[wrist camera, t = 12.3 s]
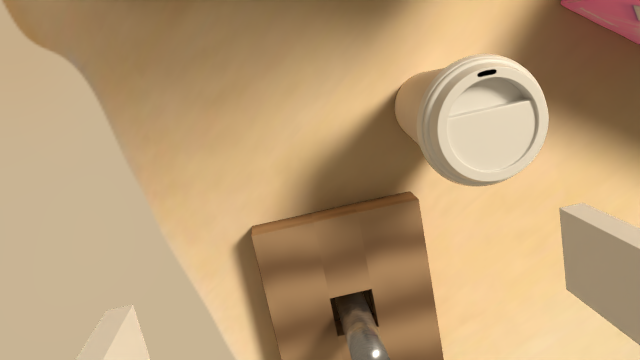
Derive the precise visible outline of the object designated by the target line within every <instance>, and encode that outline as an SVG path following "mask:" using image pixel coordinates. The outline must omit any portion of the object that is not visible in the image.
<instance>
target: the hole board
mask: <svg viewBox="0 0 640 360" xmlns="http://www.w3.org/2000/svg"><path fill="white" fill-rule="evenodd" d="M251 237H252V241H253V245H254V249H255V253H256V257H257V261H258V265H259V270H260V274H261V278H262V282H263V286H264V290H265V294H266V298H267V302H268V306H269V311H270V315H271V319H272V323H273V327H274V331H275V335H276V339H277V343H278V347H279V352H280V356H281V360H352V359H351V355H350V352H349V348H348V345H347V341H346V338H345V334H344V331H343V327H342V323H341V320H339V321H334V316H333V312H332V307H331V302H330V298H334V297H339V296H343V295H347V294H352V293H356V292H360V291H365V290H369V294H370V300H371V305H372V310H373V313H371V314H372V317H373V319H374V322H375V324H376V326H377V329H378V331H379V334H380V336H381V339H382V341H383V343H384V346H385V348H386V351H387V353H388V356H389V358H390V360H444V359H443V352H442V346H441V340H440V333H439V327H438V320H437V314H436V308H435V301H434V295H433V289H432V282H431V276H430V269H429V263H428V257H427V250H426V244H425V238H424V231H423V225H422V218H421V212H420V206H419V199H418V198H417V197H415V196H414V195H413V194H412V193H411V192H405V193H401V194H396V195H391V196H387V197H382V198H378V199H373V200H369V201H364V202H360V203H355V204H351V205H346V206H342V207H337V208H332V209H328V210H323V211H319V212H314V213H310V214H305V215H301V216H296V217H292V218H287V219H283V220H278V221H274V222H269V223H264V224H260V225H255V226H252V235H251Z"/></svg>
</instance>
